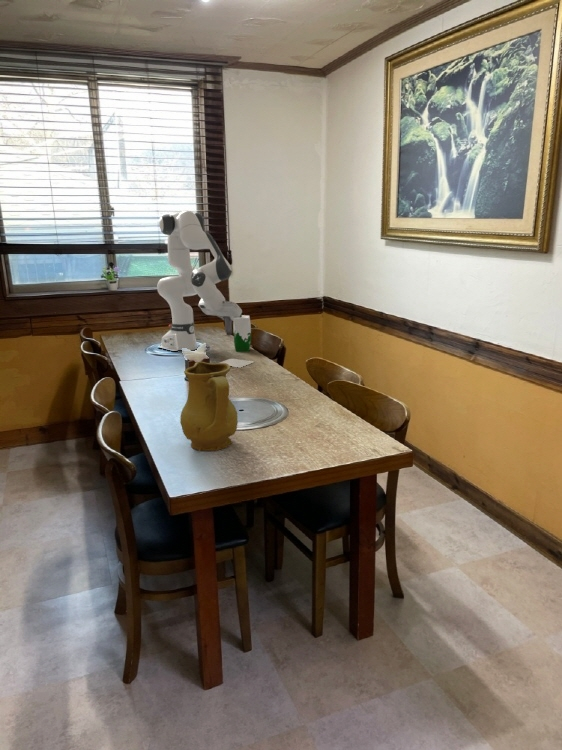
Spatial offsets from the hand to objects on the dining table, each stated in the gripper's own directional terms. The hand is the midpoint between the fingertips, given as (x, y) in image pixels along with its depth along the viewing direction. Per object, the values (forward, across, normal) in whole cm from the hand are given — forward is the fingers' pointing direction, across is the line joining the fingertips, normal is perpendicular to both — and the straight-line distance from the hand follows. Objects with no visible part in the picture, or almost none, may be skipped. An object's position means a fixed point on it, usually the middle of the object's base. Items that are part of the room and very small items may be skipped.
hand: (228, 319), depth 253 cm
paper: (+14, -4, +16) cm, 21 cm away
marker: (+5, 0, +6) cm, 7 cm away
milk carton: (+32, +9, -2) cm, 33 cm away
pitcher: (-44, -54, +76) cm, 103 cm away
